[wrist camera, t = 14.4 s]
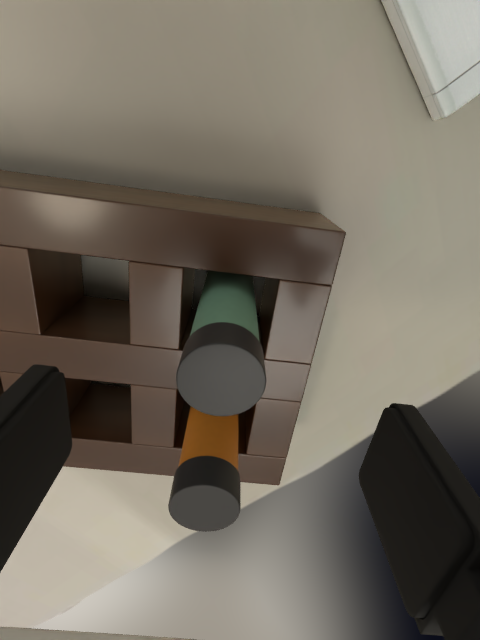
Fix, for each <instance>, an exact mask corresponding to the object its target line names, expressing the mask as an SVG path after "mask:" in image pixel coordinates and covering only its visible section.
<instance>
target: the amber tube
mask: <svg viewBox="0 0 480 640" xmlns="http://www.w3.org/2000/svg"><path fill="white" fill-rule="evenodd" d="M169 512H170V515H171V516H172V518H173V519H174V520H175V521H176V522H177V523H179V524H180V525H182V526H184V527H186V528H188V529H192V530H196V531H216V530H220V529H223V528H225V527H227V526H229V525H231V524H232V523H233V522H234V521H235V520H236V519H237V518H238V516H239V513H240V475H239V472H238V414H236V415H232V416H213V415H208V414H205V413H202V412H200V411H198V410H196V409H194V408H193V407H191V406H190V411H189V416H188V421H187V426H186V431H185V436H184V441H183V447H182V452H181V457H180V462H179V467H178V468H177V470H176V472H175V475H174V480H173V485H172V490H171V495H170V500H169Z"/></svg>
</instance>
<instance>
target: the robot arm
mask: <svg viewBox="0 0 480 640" xmlns="http://www.w3.org/2000/svg"><path fill="white" fill-rule="evenodd" d="M71 449H72V435H71V426H70V417H69V409H68V400H67V391H66V382H65V375H64V373H62V372H59V369H58V368H57V367H56V366H47V365H38V364H35V365H32V366H31V367H30V368H29V369H28V370H27V371H26V372H25V373H24V374H23V375H22V376H21V377H20V378H19V379H17V380H16V381H15V382H14V383H13V384H12V385H11V386H10V387H9V388H8V389H7V390H6V391H5V392H4V393H3V394H2V395H1V396H0V572H1V570H2V569H3V567H4V565H5V564H6V562H7V560H8V558H9V557H10V555H11V553H12V552H13V550H14V548H15V547H16V545H17V543H18V541H19V540H20V538H21V536H22V535H23V533H24V531H25V530H26V528H27V526H28V524H29V523H30V521H31V519H32V518H33V516H34V514H35V513H36V511H37V509H38V507H39V506H40V504H41V502H42V501H43V499H44V497H45V496H46V494H47V492H48V491H49V489H50V487H51V485H52V484H53V482H54V480H55V479H56V477H57V475H58V474H59V472H60V470H61V468H62V467H63V465H64V463H65V462H66V460H67V458H68V457H69V455H70V452H71ZM359 480H360V485H361V488H362V491H363V493H364V496H365V499H366V501H367V504H368V507H369V510H370V512H371V515H372V518H373V520H374V523H375V526H376V529H377V531H378V534H379V537H380V540H381V542H382V545H383V548H384V551H385V553H386V556H387V559H388V562H389V565H390V567H391V570H392V573H393V575H394V578H395V581H396V584H397V586H398V589H399V592H400V595H401V597H402V600H403V603H404V605H405V608H406V610H407V612H408V614H409V615H410V616H411V617H414V618H415V621H416V623H417V626H418V629H419V631H420V634H428V635H441V636H444V638H445V640H480V498H479V496H478V495H477V494H476V492H475V491H474V489H473V488H472V487H471V485H470V484H469V482H468V481H467V479H466V478H465V477H464V475H463V474H462V472H461V471H460V470H459V468H458V467H457V465H456V464H455V462H454V461H453V460H452V458H451V457H450V455H449V454H448V453H447V451H446V450H445V448H444V447H443V445H442V444H441V443H440V441H439V440H438V438H437V437H436V435H435V434H434V433H433V431H432V430H431V428H430V427H429V426H428V424H427V423H426V421H425V420H424V418H423V417H422V416H421V414H420V413H419V411H418V410H417V409H416V407H415V406H413V405H406V404H396V403H393V404H391V405H390V406H389V408H385V409H384V410H383V413H382V415H381V418H380V420H379V423H378V425H377V428H376V430H375V433H374V435H373V438H372V441H371V443H370V446H369V448H368V451H367V453H366V456H365V459H364V461H363V464H362V466H361V469H360V472H359ZM0 640H194V639H181V638H167V637H153V636H138V635H123V634H107V633H92V632H77V631H61V630H44V629H31V628H15V627H0Z"/></svg>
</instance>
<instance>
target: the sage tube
mask: <svg viewBox="0 0 480 640" xmlns="http://www.w3.org/2000/svg"><path fill="white" fill-rule="evenodd" d="M176 383H177V387H178V390H179V392H180V394H181V396H182V397H183V399H184V400H185V401H186V402H187V403H188V404H189V405H190V406H191V407H193V408H194V409H196V410H198V411H200V412H202V413H205V414H208V415H213V416H232V415H236V414H240V413H242V412H244V411H246V410H248V409H250V408H251V407H253V406H254V405H255V404H256V403H257V402H258V401H259V400H260V398H261V396H262V395H263V393H264V391H265V387H266V371H265V362H264V354H263V349H262V346H261V344H260V341H259V332H258V322H257V312H256V303H255V293H254V283H253V276H250V275H242V274H233V273H225V272H217V271H209V270H208V272H207V276H206V279H205V283H204V287H203V290H202V294H201V297H200V301H199V305H198V308H197V312H196V315H195V319H194V323H193V326H192V330H191V333H190V337H189V338H188V340H187V341H186V343H185V345H184V348H183V352H182V355H181V359H180V362H179V366H178V369H177V373H176Z"/></svg>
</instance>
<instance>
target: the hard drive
mask: <svg viewBox="0 0 480 640" xmlns="http://www.w3.org/2000/svg"><path fill="white" fill-rule="evenodd" d="M381 1H382V4H383V6H384V8H385V11H386V13H387V16H388V18H389V20H390V23H391V25H392V27H393V29H394V32H395V34H396V36H397V39H398V41H399V43H400V46H401V48H402V50H403V53H404V55H405V57H406V60H407V62H408V64H409V67H410V69H411V71H412V74H413V76H414V78H415V80H416V83H417V85H418V87H419V90H420V92H421V94H422V97H423V99H424V101H425V104H426V106H427V108H428V111H429V113H430V115H431V118H432V120H433V121H434V120H439V119H443V118H446V117H447V116H449V115H451V114H452V113H454V112H455V111H457V110H458V109H460V108H461V107H462V106H464V105H465V104H467V103H468V102H469V101H471V100H472V99H473V98H475V97H476V96H478V95H479V94H480V0H381Z"/></svg>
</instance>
